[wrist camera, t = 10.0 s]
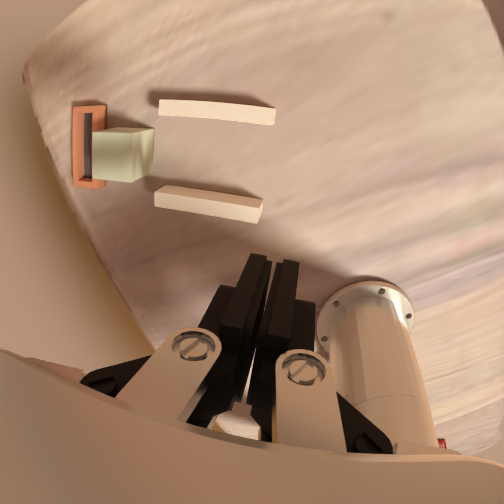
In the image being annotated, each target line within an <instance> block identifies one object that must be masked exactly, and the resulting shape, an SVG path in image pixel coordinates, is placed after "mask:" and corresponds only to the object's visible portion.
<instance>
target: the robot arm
mask: <svg viewBox="0 0 504 504" xmlns="http://www.w3.org/2000/svg"><path fill="white" fill-rule="evenodd" d="M271 266H272V261H268V260H267V256H264V255H259V254H253V253H251V254H250V256H249V258H248V261H247V263H246V265H245V268H244V270H243V272H242V274H241V277H240V279H239V281H238V283H237V286H236V287H231V286H226V285H220V286H219V288H218V290H217V292H216V294H215V295H214V297H213V299H212V301H211V303H210V305H209V307H208V309H207V311H206V313H205V314H204V316H203V318H202V320H201V322H200V324H199V326H198V328H196V327H188V328H183V329H180V330H177V331H175V332H174V333H172V334H171V335H170V336H169V337H168V338H167V339H166V340H165V341H164V343H163V344H162V345H161V346H160V347H159V348H158V349H157V350H156V352H155V353H154V354H153V355H150V356H146V357H143V358H139V359H136V360H132V361H128V362H124V363H121V364H117V365H113V366H109V367H105V368H101V369H97V370H95V371H92V372H90V373H88V374H85V373H84V370H83V369H78V368H73V367H69V366H64V365H59V364H56V363H51V362H47V361H43V360H40V359H35V358H28V357H27V358H25V357H23V356H20V355H17V354H15V353H13V352H10V351H7V350H4V349H0V504H504V465H503V464H500V463H497V462H494V461H491V460H488V459H484V458H479V457H472V456H465V455H461V454H460V453H459V452H457V451H454V450H450V449H444V448H439V444H438V439H437V435H436V431H435V427H434V423H433V419H432V414H431V410H430V406H429V402H428V398H427V394H426V390H425V386H424V383H423V379H422V375H421V372H420V368H419V365H418V361H417V358H416V355H415V351H414V348H413V345H412V342H411V339H410V334H411V332H412V329H413V327H414V321H415V315H414V310H413V306H412V304H411V302H410V300H409V298H408V296H407V295H406V294H405V293H404V292H403V291H402V290H401V289H399V288H398V287H396V286H394V285H392V284H390V283H386V282H382V281H363V282H358V283H354V284H351V285H349V286H347V287H344V288H342V289H340V290H339V291H338V292H336V293H335V294H333V295H332V296H331V297H330V298H329V299H328V300H327V301H326V302H325V304H324V305H323V307H322V308H321V310H320V313H319V315H318V320H317V335H318V339H319V341H320V344H321V345H322V347H323V348H324V349H325V350H326V351H327V352H328V353H329V354H330V365H329V363H328V362H327V361H326V360H325V358H323V357H322V356H320V355H319V354H317V353H315V352H314V336H315V303H314V302H308V301H303V300H297V299H295V297H296V288H297V280H298V271H299V262H296V261H291V260H286V259H284V261H283V263H279V262H277V264H276V268H275V272H274V276H273V280H272V284H271V287H270V291H269V295H268V299H267V303H266V307H265V302H266V296H267V290H268V284H269V278H270V272H271ZM264 308H265V311H264ZM255 349H256V351H255ZM254 353H255V356H254ZM253 356H254V362H253V368H252V374H251V379H250V385H249V390H248V396H247V401H246V404H249V405H252V410H251V414H250V415H251V416H252V417H253V419H254V420H255V421H256V422H257V423H258V425H259V426H260V427H259V432H258V440H254V439H249V438H244V437H239V436H235V435H230V434H226V433H222V432H218V431H214V430H211V428H212V427H213V425H214V423H215V421H216V418H217V415H218V414H221V413H223V412H225V411H228V410H231V411H232V407H233V404H234V401H235V402H240V403H241V400H242V396H243V393H244V389H245V386H246V382H247V378H248V375H249V371H250V367H251V364H252V360H253Z"/></svg>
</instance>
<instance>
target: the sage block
mask: <svg viewBox="0 0 504 504" xmlns="http://www.w3.org/2000/svg"><path fill="white" fill-rule="evenodd" d="M154 135H155V129H153V128H128V127H116V128H111V129H106V130H101V131H96V132H92V176H93V179H102V180H111V181H120V182H129V183H131V182H133V181H135V180H137V179H139V178H142V177H144V176H146V175H148V174H150V173H152V172H153V154H154Z"/></svg>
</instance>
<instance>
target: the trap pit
mask: <svg viewBox="0 0 504 504" xmlns="http://www.w3.org/2000/svg"><path fill="white" fill-rule="evenodd" d="M106 117H107V105H92V106H78V107H73V126H72V156H73V183H74V186H75V187H83V188H91V189H99V188H101V187H103V186H105V185H106V180H102V179H93V176H92V132H96V131H101V130H106Z"/></svg>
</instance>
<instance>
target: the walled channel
mask: <svg viewBox="0 0 504 504" xmlns="http://www.w3.org/2000/svg"><path fill="white" fill-rule="evenodd" d="M158 115H165V116H184V117H198V118H210V119H221V120H231V121H240V122H248V123H256V124H263V125H270V126H271V125H273V124H274V122H275V115H276V109H275V108H268V107H260V106H252V105H243V104H234V103H223V102H210V101H194V100H159V111H158ZM154 206H155V207H161V208H168V209H174V210H180V211H186V212H192V213H198V214H204V215H210V216H216V217H221V218H227V219H233V220H239V221H244V222H250V223H255V224H257V223H258V221H259V218H260V216H261V214H262V207H263V199H257V198H251V197H245V196H239V195H233V194H226V193H220V192H214V191H207V190H200V189H193V188H186V187H179V186H172V185H165V186H164V187H162V188H160V189H159V190H157V191H155V195H154Z"/></svg>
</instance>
